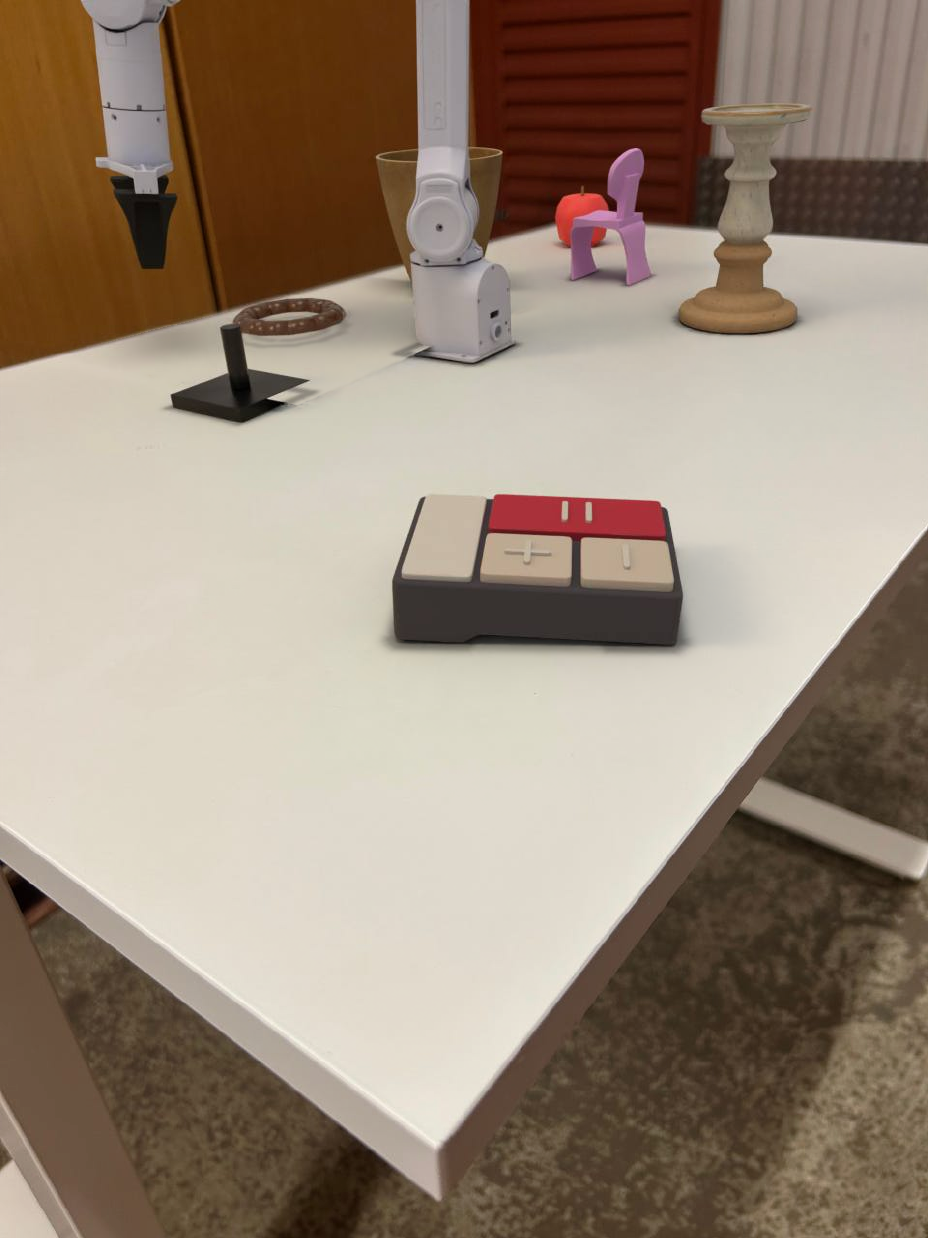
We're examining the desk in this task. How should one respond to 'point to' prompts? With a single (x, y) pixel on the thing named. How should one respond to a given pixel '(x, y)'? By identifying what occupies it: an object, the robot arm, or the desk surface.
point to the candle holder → (745, 226)
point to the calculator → (538, 570)
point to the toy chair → (615, 221)
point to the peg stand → (235, 385)
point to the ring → (326, 318)
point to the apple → (579, 214)
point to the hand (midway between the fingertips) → (149, 259)
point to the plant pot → (401, 192)
